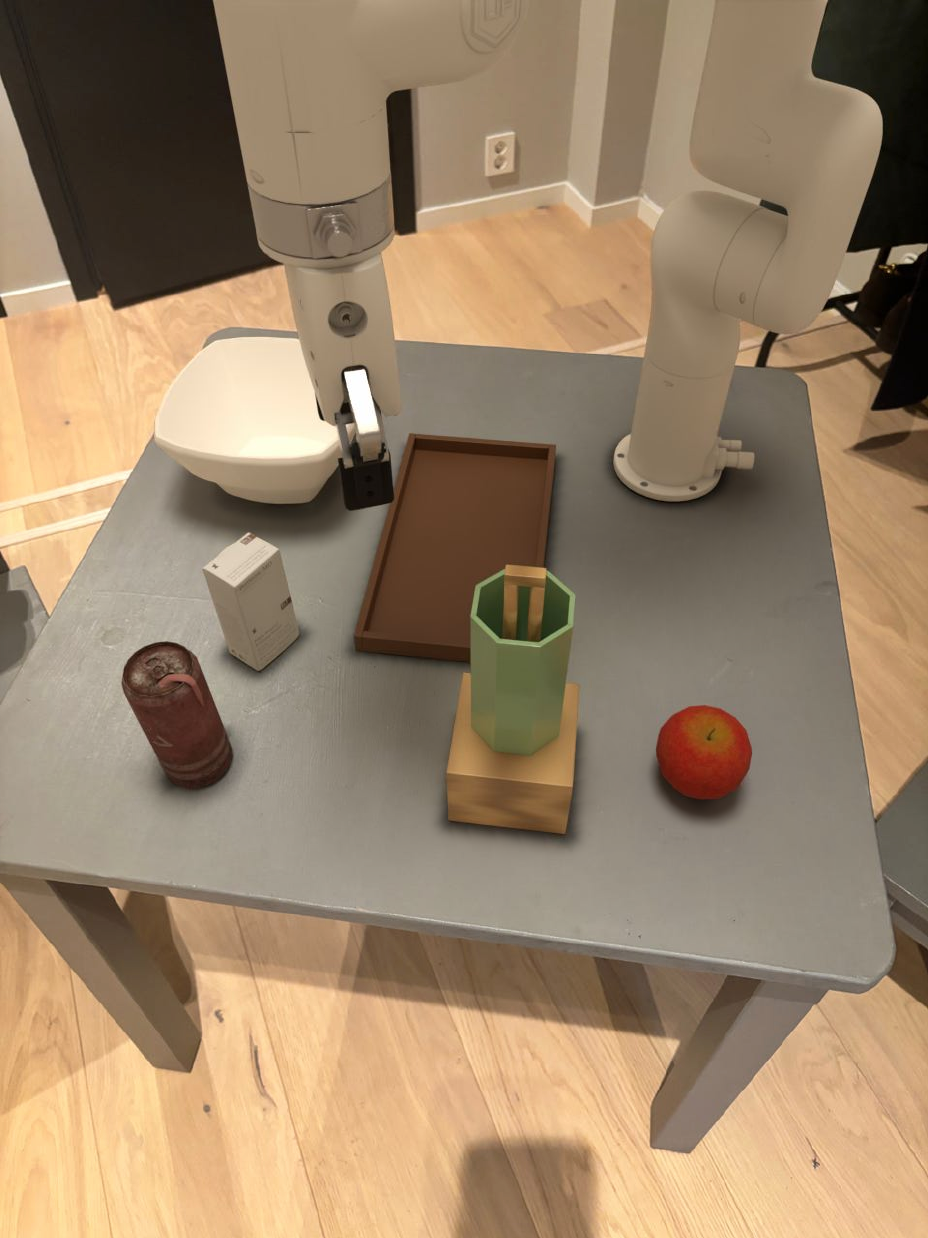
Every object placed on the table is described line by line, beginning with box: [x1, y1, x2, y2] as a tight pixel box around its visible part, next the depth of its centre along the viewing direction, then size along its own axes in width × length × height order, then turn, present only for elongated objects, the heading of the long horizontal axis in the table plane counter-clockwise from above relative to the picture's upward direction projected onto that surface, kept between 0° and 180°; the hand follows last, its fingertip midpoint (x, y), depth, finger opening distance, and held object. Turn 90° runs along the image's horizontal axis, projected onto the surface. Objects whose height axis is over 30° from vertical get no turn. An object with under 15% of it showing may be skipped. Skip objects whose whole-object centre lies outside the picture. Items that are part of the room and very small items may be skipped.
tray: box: [353, 433, 557, 663], centre depth 97 cm, size 18×32×2 cm, turn 172°
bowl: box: [153, 336, 356, 505], centre depth 102 cm, size 22×22×12 cm
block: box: [445, 672, 580, 835], centre depth 77 cm, size 10×10×8 cm
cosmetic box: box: [201, 532, 300, 672], centre depth 85 cm, size 6×4×12 cm
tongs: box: [502, 565, 548, 643], centre depth 67 cm, size 3×1×17 cm, turn 82°
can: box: [121, 640, 233, 789], centre depth 76 cm, size 6×6×14 cm
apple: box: [655, 704, 753, 800], centre depth 76 cm, size 8×8×8 cm
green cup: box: [470, 569, 576, 756], centre depth 69 cm, size 7×7×14 cm
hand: (354, 457), depth 61 cm, fingers open, 9 cm apart
